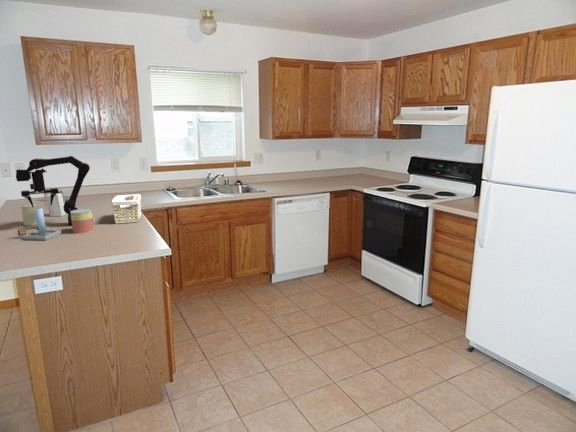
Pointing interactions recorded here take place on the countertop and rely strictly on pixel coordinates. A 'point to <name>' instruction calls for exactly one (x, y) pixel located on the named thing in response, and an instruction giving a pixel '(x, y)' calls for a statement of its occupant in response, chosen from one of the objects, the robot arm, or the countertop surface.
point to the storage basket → (127, 208)
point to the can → (29, 214)
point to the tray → (42, 238)
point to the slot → (23, 230)
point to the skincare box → (56, 205)
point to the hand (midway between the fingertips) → (42, 206)
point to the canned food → (82, 220)
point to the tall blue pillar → (40, 223)
